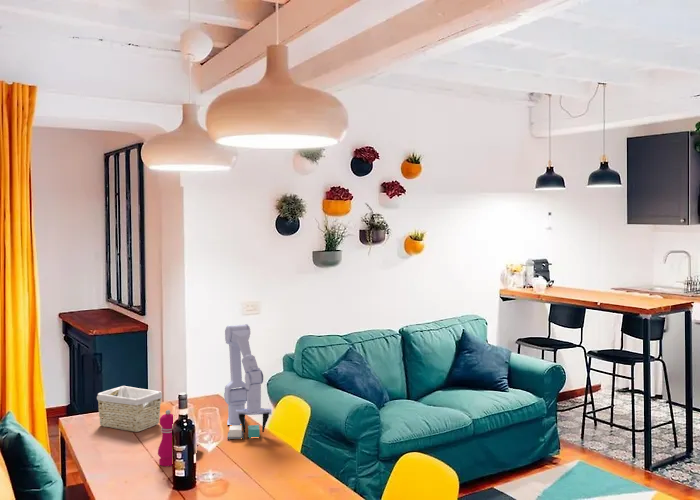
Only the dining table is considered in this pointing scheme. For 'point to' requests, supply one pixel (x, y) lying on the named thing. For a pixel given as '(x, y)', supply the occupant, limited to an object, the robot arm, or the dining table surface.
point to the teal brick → (253, 431)
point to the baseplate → (234, 437)
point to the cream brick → (235, 431)
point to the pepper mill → (166, 440)
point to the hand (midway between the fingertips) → (253, 431)
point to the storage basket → (129, 408)
